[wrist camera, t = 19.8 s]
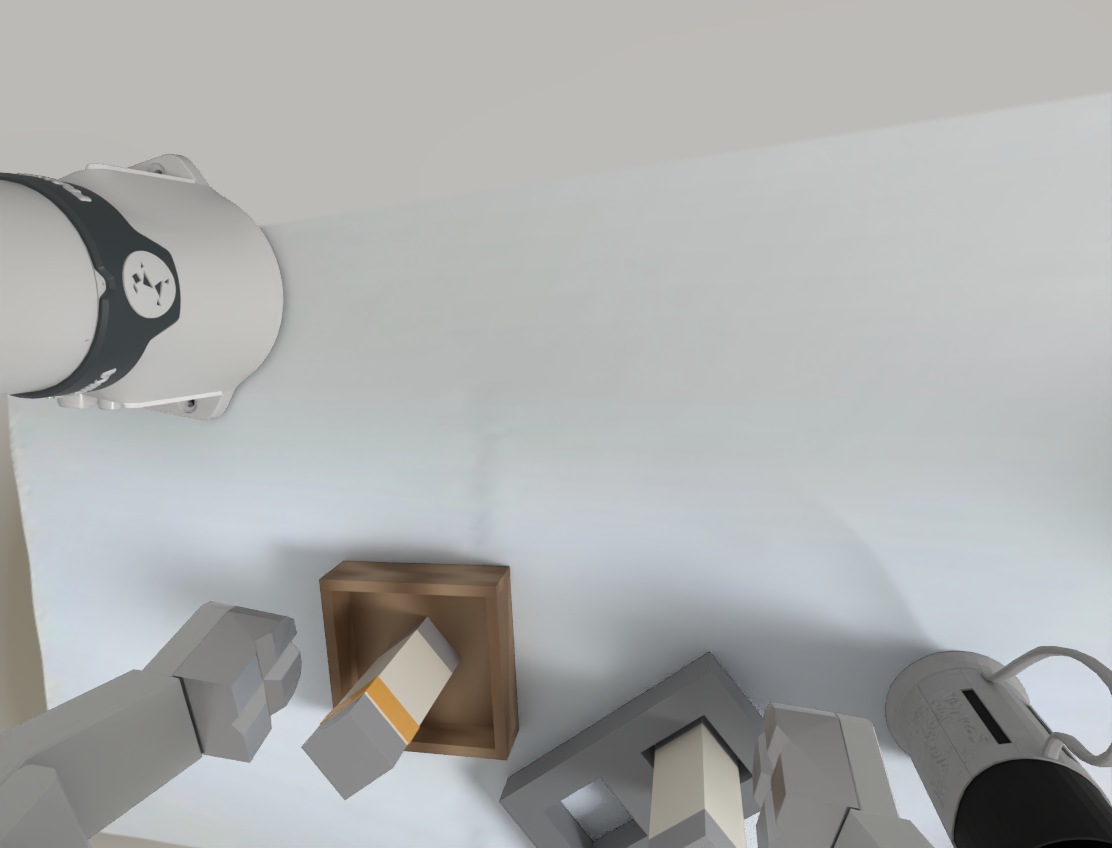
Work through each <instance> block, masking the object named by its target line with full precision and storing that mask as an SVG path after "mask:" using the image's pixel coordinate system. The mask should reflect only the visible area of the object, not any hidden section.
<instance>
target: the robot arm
mask: <svg viewBox="0 0 1112 848" xmlns="http://www.w3.org/2000/svg"><path fill="white" fill-rule="evenodd" d="M162 173H163V174H162ZM282 313H283V286H282V280H281V275H280V270H279V267H278V263H277V260H276V258H275V255H274V253H273V250H272V248H271V246H270V244H269V242H268V240H267V239H266V237H265V235H264V234H263V232H262V231H261V229H260V228H259V227H258V225H257V224H256V223H255V222H254V221H253V220H252V218H251V217H250V216H248V214H247V213H246V212H244V211H243V210H242V209H241V208H240V207H238V206H237V205H236V204H234V203H233V202H231V201H230V200H228V199H227V198H225V197H223V196H222V195H220V194H219V193H217V192H216V191H215V190H213V189H212V188H211V187H210V186H209V185H208V183H207V182H206V180H205V179H204V177H203V176H202V174H201V173H200V172H199V170H198V169H197V168H196V166H195V165H194V164H193V163H192V162H191V161H190V160H189V159H188V158H186V157H184V156H181V155H174V154H166V155H162V156H160V157H157V158H154V159H151V160H148V161H145V162H142V163H140V164H137V165H134V166H131V167H128V168H122V167H116V166H111V165H104V164H88V165H87V166H86V169H85V170H82V171H78V172H74V173H72V174H69V175H67V176H65V177H63V178H61V179H59V180H56V179H53V178H49V177H45V176H38V175H33V174H20V173H17V174H11V173H0V396H5V395H11V396H16V397H20V398H32V399H34V398H51V397H53V398H57V403H58V404H59V406H61V407H65V408H90V407H94V406H96V405H97V403H98V408H99V409H104V410H117V409H121V408H122V405H123V406H124V407H125V408H140V407H141V408H146V409H151V410H155V411H160V412H165V413H170V414H175V415H180V416H185V417H190V418H195V419H200V420H209V419H216V418H218V417H220V416H221V415H222V414H223V413H224V411H225V410H226V408H227V406H228V404H229V402H230V400H231V398H232V395H233V393H234V391H235V389H236V387H237V386H238V385H239V384H240V383H241V382H242V381H243V380H244V379H245V378H247V377H248V376H249V375H250V374H251V373H253V372H254V371H255V370H256V369H257V368H258V367H259V366H260V365H261V363H262V362H263V361H264V360H265V358H266V357H267V355H268V354H269V352H270V351H271V349H272V347H273V345H274V343H275V340H276V338H277V335H278V332H279V328H280V325H281V319H282ZM193 399H194V401H195V404H194V405H193V403H192V401H191V400H193ZM296 633H297V631H296V627H295V622H294V619H293V618H290V617H287V616H282V615H277V614H272V613H267V612H262V611H258V610H253V609H248V608H243V607H238V606H232V605H227V604H222V603H217V602H212V601H211V602H209V603H207V604H205V605H203V606H201V607H200V608H199V609H198V610H197V611H196V612H195V613H194V614H193V616H192V617H191V618H190V619H189V620H188V621H187V622H186V623H185V624H184V625H183V626H182V628H181V629H180V630H179V631H178V632H177V633H176V634H175V635H174V636H173V637H172V638H171V640H170V641H169V642H168V643H167V644H166V645H165V646H164V647H163V648H162V649H161V650H160V651H159V653H158V654H157V655H156V656H155V657H154V658H153V659H152V660H151V661H150V662H149V663H148V665H147V666H146V667H145V668H144V669H143V670H142V671H141V670H132V671H130V672H127V673H125V674H123V675H121V676H119V677H117V678H115V679H113V680H111V681H109V682H107V683H105V684H103V685H100V686H98V687H96V688H94V689H92V690H90V691H88V692H86V693H84V694H82V695H80V696H78V697H76V698H74V699H71V700H69V701H67V702H65V703H63V704H61V705H59V706H57V707H55V708H53V709H51V710H49V711H47V712H44V713H42V714H40V715H38V716H36V717H34V718H32V719H30V720H28V721H26V722H24V723H22V724H20V725H18V726H15V727H13V728H11V729H9V730H7V731H5V732H3V733H1V734H0V848H91V846H90V843H89V841H88V839H90V838H91V837H92V836H94V835H95V834H97V833H98V832H99V831H101V830H102V829H104V828H105V827H106V826H108V825H109V824H110V823H112V822H113V821H115V820H116V819H117V818H119V817H120V816H122V815H123V814H124V813H126V812H127V811H128V810H130V809H131V808H133V807H134V806H135V805H137V804H138V803H139V802H141V801H142V800H144V799H145V798H146V797H148V796H149V795H151V794H152V793H153V792H155V791H156V790H157V789H159V788H160V787H162V786H163V785H164V784H166V783H167V782H169V781H170V780H171V779H173V778H174V777H175V776H177V775H178V774H180V773H181V772H182V771H184V770H185V769H187V768H188V767H189V766H191V765H192V764H193V763H195V762H196V761H198V760H199V759H200V758H202V754H204V755H209V756H215V757H221V758H226V759H232V760H238V761H243V762H249V763H250V762H251V760H252V759H253V757H254V755H255V754H256V752H257V751H258V749H259V748H260V746H261V745H262V743H263V741H264V740H265V738H266V737H267V735H268V734H269V732H270V731H271V729H272V726H271V717H270V716H271V715H272V714H274V713H276V712H277V711H279V710H281V709H282V708H284V707H286V705H287V704H288V702H289V700H290V699H291V697H292V695H293V694H294V692H295V689H296V686H297V683H298V681H299V678H300V674H301V663H302V661H301V655H300V651H299V650H298V649H297V648H296V647H295V645H294V644H293V643H292V642H291V641H292V639H293V638H294V636H295V635H296ZM764 727H765V732H764V733H762V734H761V735H759V736H758V738H757V742H756V746H755V750H754V757H753V766H752V784H753V798H754V799H755V801H756V802H757V803H758V805H759V806H760V808H761V811H760V814H759V818H758V821H757V824H756V831H757V842H758V848H934V847H933V846H932V844H931V843H930V842H929V841H928V840H927V839H926V838H925V837H924V835H923V834H922V833H921V832H920V831H919V830H918V829H917V827H916V826H915V825H914V824H913V823H912V822H911V821H910V820H905V819H901V818H900V816H899V813H898V810H897V806H896V803H895V799H894V796H893V792H892V789H891V785H890V782H889V778H888V775H887V771H886V768H885V764H884V761H883V757H882V754H881V750H880V747H879V743H878V740H877V737H876V733H875V730H874V726H873V724H872V723H871V721H870V720H869V719H867V718H861V717H856V716H850V715H844V714H838V713H833V712H829V711H823V710H817V709H811V708H805V707H799V706H793V705H787V704H781V703H775V702H770V703H769V704H768V706H767V708H766V711H765V714H764Z"/></svg>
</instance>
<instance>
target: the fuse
mask: <svg viewBox="0 0 1112 848" xmlns="http://www.w3.org/2000/svg"><path fill="white" fill-rule="evenodd" d="M648 848H747V845H746V835H745V826H744V817H743V808H742V798H741V789H740V780H739V770H738V761H737V755H736V754H735V752H734V751H733V750H732V749H731V747H730V746H729V745H728V744H727V743H726V741H725V740H724V739H723V738H722V736H721V735H720V734H719V733H718V731H717V730H716V729H715V728H714V726H713V725H712V724H711V723H710V721H709V720H708V719H707V718H706V716H705V715H703V716H701V717H699V718H698V719H696V720H694V721H693V722H691V723H689V724H688V725H686V726H684V727H683V728H681V729H679V730H678V731H676V732H674V733H673V734H671V735H669V736H668V737H666V738H664V739H663V740H661V741H659V742H658V743H656V745H655V759H654V773H653V787H652V801H651V815H650V829H649V843H648Z"/></svg>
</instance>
